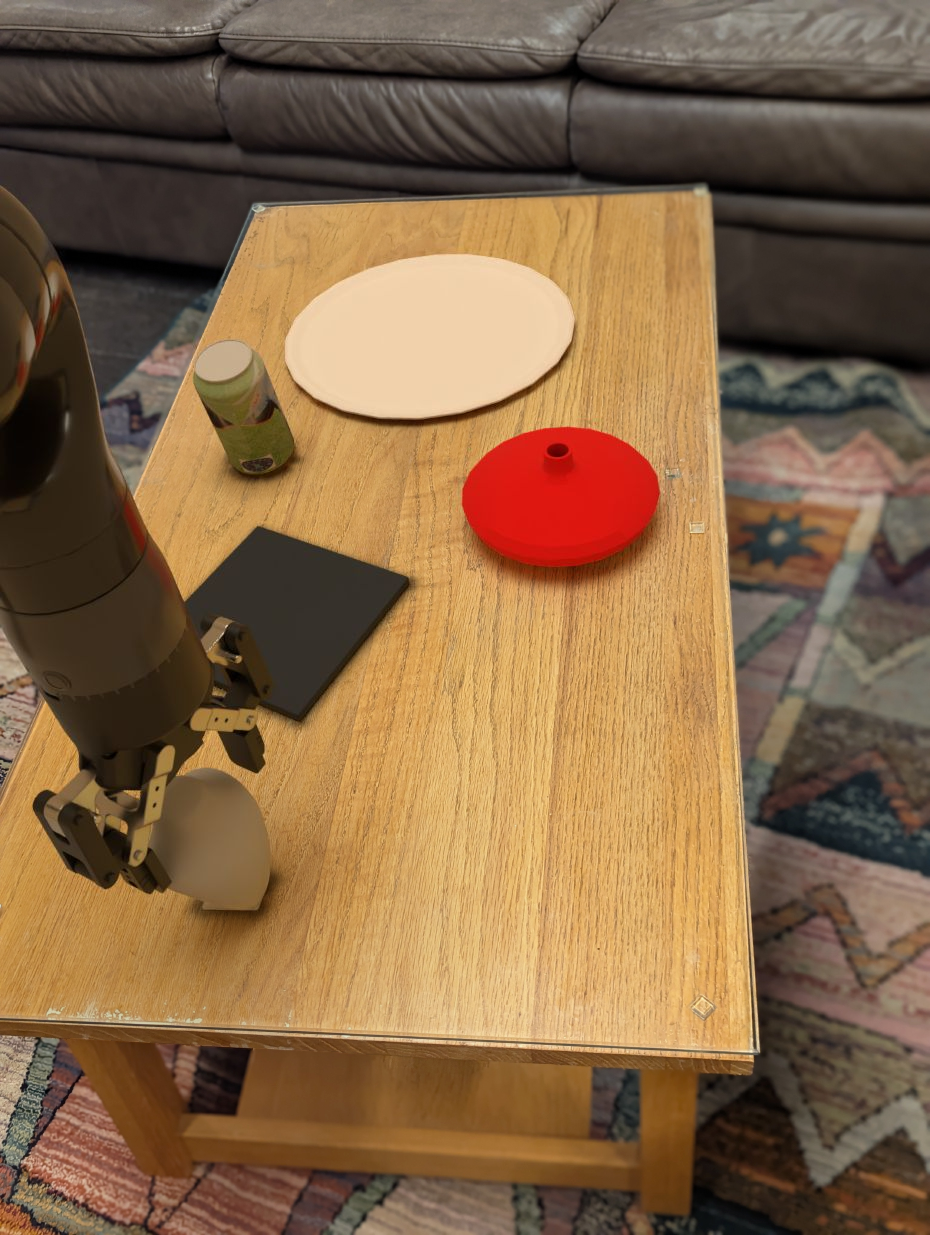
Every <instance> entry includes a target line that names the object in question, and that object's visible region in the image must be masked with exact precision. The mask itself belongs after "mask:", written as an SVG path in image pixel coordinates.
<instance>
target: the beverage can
mask: <svg viewBox="0 0 930 1235" xmlns="http://www.w3.org/2000/svg"><path fill="white" fill-rule="evenodd" d="M193 369H194V370H193V375H192V382H193V386H194V389H195V391H196V394H197V395H198V397H199V399H200V401H201V404H202V405H203V408H204V410H205V412H206V414H207V416H208V419H209V420H210V422H211V424H212V427H213V428H214V431H215V432H216V436H217V437H218V439H219V442H220V443H221V445H222V448H223V450H224V451H225V454H226V455H227V458H228V460H229V463H230V464H231V465H232V467H233V468H234V469H235V470H237V471H239V472H240V473H243V474H247V475H263V474H267V473H270V472H273V471H275V470H276V469H279V468H280V467H281V466H282V465H284V464H285V463H286V462H287V461H288V460H289V459H290V457H291V456H292V454H293V452H294V448H295V438H294V435H293V433H292V430H291V427H290V425H289V422H288V420H287V418H286V414H285V413H284V410H283V408H282V405H281V403H280V400H279V398H278V395H277V392H276V390H275V387H274V385H273V383H272V380H271V378H270V375H269V372H268V370H267V366H266V364H265V362H264V359H263V358H262V356H261V355H260V354H259V353H258V352H257V351H256V350H254V349H253V348H251V347H250V345H249V344H247V343H246V342H245V341H242V340H240V339H235V338H234V339H233V338H228V339H222V340H218V341H215V342H213V343H211V344H209V345H207V346H206V347H204V348H203V349H202V350H200V352H199V353H198V355H197V356H196V357H195V360H194V365H193Z"/></svg>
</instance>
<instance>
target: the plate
mask: <svg viewBox="0 0 930 1235" xmlns="http://www.w3.org/2000/svg"><path fill="white" fill-rule="evenodd" d="M575 322H576V318H575V314H574V312H573V308H572V304H571V302H570V298H569V297H568V296H567V295H566V294H565V292H563V290H562V289H561V288H560V287H559V286H558V285H557V284H556V282H554V281H553V280H552V279H550V278H548V277H547V276H545V275H543V274H542V273H540V272H538V271H537V270H535V269H534V268H532V267H529V266H526V265H523V264H520V263H516V262H514V261H510V260H507V259H504V258H501V257H493V256H485V255H478V254H472V253H467V254H466V253H457V254H454V253H453V254H452V253H450V254H445V253H443V254H442V253H441V254H430V255H423V256H416V257H415V256H414V257H409V258H408V257H407V258H402V259H398V260H394V261H391V262H387V263H384V264H379V265H377V266H372V267H370V268H366V269H365V270H362V271H359V272H358V273H355V274H352V275H351V276H348V277H346V278H345V279H342V280H340V281H338V282H337V283H335V284H333V285H332V286H330V287H329V288H327V289H326V290H324V291H323V292H321V293H320V294H319V295H317V296H316V297H314V298H313V299H312V300H311V301H310V302H309V303H308V304H306V306H305V307H304V308H303V310H302V311H300V312H299V314H297V316H296V317H295V318H294V320H293V322H292V323H291V326H290V328H289V330H288V333H287V334H286V337H285V338H284V362H285V364H286V367H287V368H288V370H289V373H290V375H291V377H292V379H293V381H294V383H296V384H297V385H298V386H299V387H300V388H301V389H302V390H304V391H305V392H306V393H307V394H308V395H309V396H311V398H313V399H315V400H316V401H319V402H321V403H323V404H326V405H328V406H329V407H332V408H334V409H336V410H339V411H341V412H344V413H347V414H348V413H349V414H353V415H359V416H364V417H368V418H373V419H378V420H426V419H427V420H428V419H434V418H439V417H447V416H454V415H461V414H465V413H467V412H471V411H474V410H477V409H478V410H479V409H480V408H484V407H487V406H491V405H493V404H496V403H500V402H502V401H504V400H506V399H508V398H510V397H511V396H512V397H513V396H514V395H515V394H518V393H519V392H521V391H523V390H525V389H527V388H529V387H531V386H533V385H534V384H535V383H537V381H539V380H540V379H542V377H544V376H545V375H546V374H547V373H548V372H550V371H551V370H552V369H553V368H554V367H555V366H557V365H558V363H559V362H560V360H561V359H562V357H563V356H564V354H565V352H566V351H567V350H568V348H569V346H570V345H571V343H572V339H573V334H574V329H575Z"/></svg>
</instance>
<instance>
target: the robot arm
mask: <svg viewBox="0 0 930 1235" xmlns="http://www.w3.org/2000/svg"><path fill="white" fill-rule="evenodd" d="M74 295H75V294H74V293H73V288H72V286H71V283H70V280H69V278H68V275H67V272H66V270H65V267H64V265H63V263H62V260H61V259H60V256H59V254H58V252H57V250H56V248H55V247H54V245H53V243H52V241H51V239H50V238H49V236H48V235H47V232H46V231H45V229H44V228H43V227H42V226H41V224H40V223H39V222H38V220H37V219H36V217H35V216H34V215H33V214H32V212H31V211H30V210H29V209H28V208H27V207H26V206H25V205H24V204H23V203H22V202H21V201H20V199H18V198H17V197H16V196H15V195H13V193H12V192H10V191H8V190H7V189H6V188H5V187H3V186H2V185H0V627H1V630H2V633H3V634H4V636H5V638H6V640H7V642H8V643H9V644H10V647H11V648H12V650H13V651H14V653H15V654H16V656H17V657H18V659H19V660H20V662H21V664H22V666H23V667H24V669H25V670H26V672H27V673H28V675H29V677H30V679H31V680H32V682H33V683H34V685H35V687H36V689H37V690H38V691H39V693H40V694H41V697H42V698H43V700H44V701H45V702H46V705H47V706H48V707H49V709H50V711H51V712H52V714H53V716H54V718H55V719H56V721H57V722H58V724H59V725H60V727H61V729H62V730H63V732H64V733H65V734H66V736H67V737H68V738H69V740H70V741H71V742H72V743H73V744H74V746H75V747H76V750H77V755H78V771H79V772H78V773H77V774H76V775H75V776H74V777H73V778H72V779H71V780H70V781H69V782H68V783H67V784H65V786H64V787H63V788H62V789H61V790H60V791H59V792H58V793H56V792H54V791H52V790H51V789H43V790H41V791H40V792H38V793H37V795H36V796H35V797H34V798H33V802H32V811H33V813H34V815H35V816H36V819H37V820H38V822H39V823H40V825H41V827H42V828H43V830H44V831H45V833H46V835H47V837H48V838H49V840H50V842H51V844H52V846H53V847H54V848H55V850H56V852H57V853H58V855H59V857H60V859H61V860H62V862H63V864H64V866H65V867H66V869H67V870H68V871H70V872H72V873H74V874H78V875H80V876H82V877H84V878H85V879H87V880H89V881H91V882H93V883H95V885H96V886H98V887H100V888H101V889H104V890H108V889H111V888H112V887H113V886H115V885H116V883H117V882H118V879H119V878H120V876H121V878H122V879H123V881H124V882H125V883H126V884H128V885H130V886H131V887H132V888H135V889H137V890H139V891H140V892H142V893H144V894H146V895H152V894H153V893H154V891H156V892H158V893H160V894H164V893H165V892H166V891H167V889H168V887H169V885H170V884H171V883H172V881H171V879H170V878H169V876H168V874H167V873H166V871H165V869H164V868H163V866H162V864H161V863H160V861H159V859H158V858H157V856H156V854H155V853H154V851H153V849H151V848H149V847H148V844H149V840H150V836H151V831H152V826H153V823H154V822H156V821H158V820H159V819H160V817H161V812H162V806H163V800H164V793H165V787H167V786H168V784H169V783H170V782H171V781H172V780H173V779H174V777H175V776H178V774H179V772H180V770H181V768H182V767H183V765H184V764H185V762H187V761H188V760H189V759H190V758H192V757H193V756H194V755H195V754H196V753H197V752H198V750H199V749H200V748H201V747H202V746H203V744H204V740H203V738H204V737H205V734H206V732H207V731H213V732H217V734H218V737H219V739H220V741H221V743H222V745H223V748H224V750H225V752H226V754H227V757H228V758H229V760H230V761H231V763H233V765H236V766H238V767H240V768H242V769H244V770H247V771H249V772H251V773H253V774H256V775H257V774H259V773H260V772H261V771H262V770H263V768H264V767H265V766H266V765H267V761H266V760H265V757H264V754H265V753H266V745H265V742H264V739H263V737H262V735H261V732H260V729H259V727H258V725H257V723H258V720H259V712H258V711H257V710H256V709H257V707H258V705H259V704H258V703H259V701H260V699H262V700H267V699H268V698H269V697H270V696H271V695H272V693H273V690H274V682H273V679H272V677H271V675H270V673H269V671H268V668H267V666H266V664H265V662H264V660H263V657H262V655H261V653H260V651H259V649H258V646H257V644H256V642H255V640H254V638H253V635H252V633H251V631H250V629H249V627H248V626H245V625H243V624H240V623H238V622H235V621H232V620H230V619H227V618H224V617H222V616H219V615H217V614H214V613H211V612H210V613H207V614H206V615H205V616H204V617H203V618H202V620H201V623H200V630H201V632H202V634H203V636H204V637H203V638H202V639H201V640H200V637H199V635H198V633H197V630H196V628H195V626H194V623H193V621H192V619H191V616H190V614H189V612H188V609H187V607H186V605H185V600H184V599H183V596H182V593H181V591H180V589H179V587H178V584H177V581H176V579H175V576H174V575H173V571H172V570H171V567H170V565H169V563H168V562H167V559H166V557H165V555H164V554H163V552H162V550H161V549H160V547H159V546H158V544H157V543H156V541H155V539H154V538H153V537H152V535H151V533H150V532H149V530H148V528H147V526H146V524H145V521H144V519H143V517H142V514H141V512H140V510H139V508H138V505H137V502H136V500H135V499H134V496H133V494H132V492H131V489H130V487H129V485H128V482H127V480H126V477H125V475H124V473H123V471H122V468H121V467H120V465H119V463H118V461H117V459H116V457H115V456H114V453H113V451H112V449H111V446H110V445H109V441H108V439H107V435H106V430H105V426H104V421H103V416H102V415H103V414H102V410H101V406H100V405H101V403H100V399H99V393H98V389H97V383H96V379H95V375H94V371H93V366H92V362H91V357H90V354H89V349H88V345H87V340H86V336H85V332H84V328H83V325H82V324H83V323H82V321H81V317H80V312H79V309H78V306H77V302H76V299H75V296H74ZM215 662H217V664H218V666H219V668H220V670H221V672H222V674H223V676H224V678H225V680H226V682H227V684H228V685H229V686H230V687H229V689H228V691H227V690H226V693H225V694H224V696H223V695H216V694H213V692H214V686H215V685H214V680H215V668H214V665H213V663H215ZM125 791H131V792H132V791H134V792H135V791H136V792H137V791H138V792H140V793H139V797H138V798H137V797H135V796H134V795H131V794H129V793H127V792H125ZM97 811H98V813H97ZM122 821H123V822H124V823H125V824H126V826H127V828H126V829H127V830H126V833H125V832H123V831H121V827H122Z"/></svg>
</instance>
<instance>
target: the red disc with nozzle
mask: <svg viewBox="0 0 930 1235" xmlns="http://www.w3.org/2000/svg"><path fill="white" fill-rule="evenodd" d="M461 489H462V490H461V491H462V492H461V507H462V510H463V513H464V515H465V517H466V521H467V523H468V525H469V526H470V527H471V529H472V530H473V532H474V533H475V534H476V536H477V537H478V538H479V539H480V540H481V542H482V543H483V544H484V545H485V546H487V547H488V548H489V549H492V550H493V551H495V552H496V553H498V554H499V555H501V556H503V557H505V558H508V559H510V560H513V561H516V562H520V563H522V564H525V565H530V566H531V565H532V566H540V567H548V568H558V567H559V568H560V567H578V566H581V565H585V564H588V563H595V562H597V561H601V560H604V559H606V558H608V557H610V556H612V555H614V554H616V553H619V552H620V551H622V550H624V549H626V548H627V547H628V546H630V545H631V544H632V543H633V542H634V541H636V540H637V539H638V538H640V536H641V535H642V534H643V532H644V531H645V529H646V528H647V527H648V525H649V524H650V523H651V521H652V519H653V517H654V516H655V512H656V511H657V507H658V503H659V500H660V495H661V490H660V483H659V477H658V474H657V473H656V471H655V469H654V468H653V466H652V465H651V463H650V461H649V459H647V458H646V457H645V456H643V454H642V453H640V452H639V451H638V450H637V449H636V448H634V447H633V446H632V445H631V444H629V443H628V442H626V441H625V440H623V439H620V438H618V437H617V436H615V435H613V434H610V433H607V432H603V431H600V430H596V429H592V428H586V427H576V426H575V427H574V426H555V427H543V428H540V429H535V430H531V431H527V432H522V433H520V434H518V435H516V436H513V437H511V438H508V439H506V440H503V441H502V442H500V443H499V444H497V445H496V446H495V447H493V448H492V449H490V450H489V451H487V452H486V453H485V454H484V455H483V457H481V458H480V460H478V462H477V463H475V465H474V467H472V469H471V470H470V471H469V472H468V475H467V477H466V479H465V481H464V484H463V486H462V488H461Z"/></svg>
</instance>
